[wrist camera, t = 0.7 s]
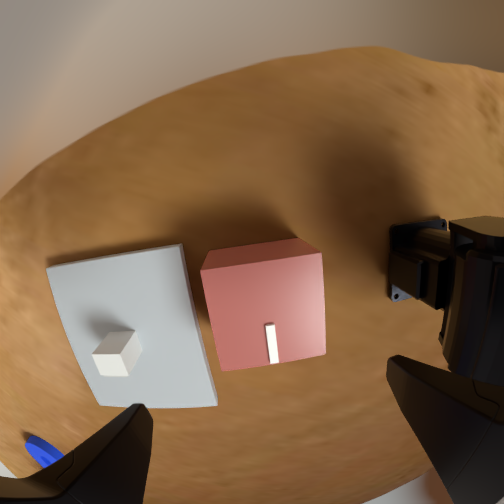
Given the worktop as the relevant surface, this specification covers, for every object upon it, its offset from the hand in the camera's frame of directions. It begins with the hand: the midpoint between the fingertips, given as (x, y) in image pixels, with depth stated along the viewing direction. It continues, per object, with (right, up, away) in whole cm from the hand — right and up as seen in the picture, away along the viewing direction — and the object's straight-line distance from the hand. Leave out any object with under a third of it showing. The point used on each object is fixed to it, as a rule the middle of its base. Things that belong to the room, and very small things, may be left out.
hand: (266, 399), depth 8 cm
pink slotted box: (0, +2, +12) cm, 12 cm away
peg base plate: (-10, -2, +12) cm, 16 cm away
